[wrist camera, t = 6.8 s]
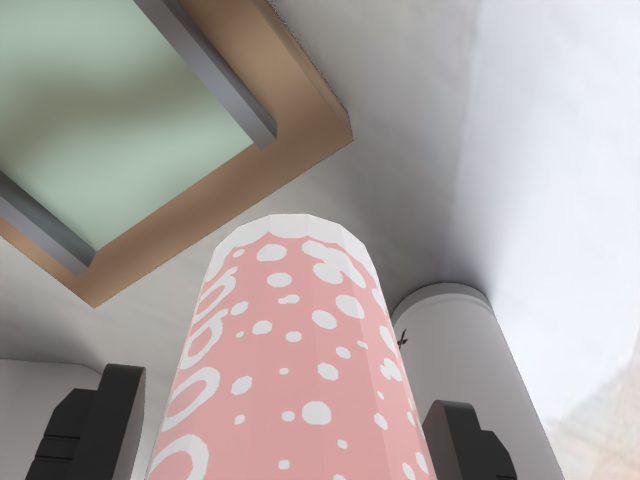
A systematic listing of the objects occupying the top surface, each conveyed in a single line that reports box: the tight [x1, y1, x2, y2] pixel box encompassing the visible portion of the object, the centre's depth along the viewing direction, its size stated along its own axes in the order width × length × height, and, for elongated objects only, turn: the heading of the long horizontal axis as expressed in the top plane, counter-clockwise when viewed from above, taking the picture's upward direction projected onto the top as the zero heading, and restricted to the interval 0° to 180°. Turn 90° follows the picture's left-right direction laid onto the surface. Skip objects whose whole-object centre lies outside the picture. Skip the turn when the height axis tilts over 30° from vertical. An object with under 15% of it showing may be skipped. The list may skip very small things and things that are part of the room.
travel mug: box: [391, 283, 565, 480], centre depth 27 cm, size 6×7×20 cm
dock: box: [0, 0, 353, 308], centre depth 24 cm, size 15×16×4 cm
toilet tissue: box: [0, 359, 102, 480], centre depth 35 cm, size 9×13×9 cm
